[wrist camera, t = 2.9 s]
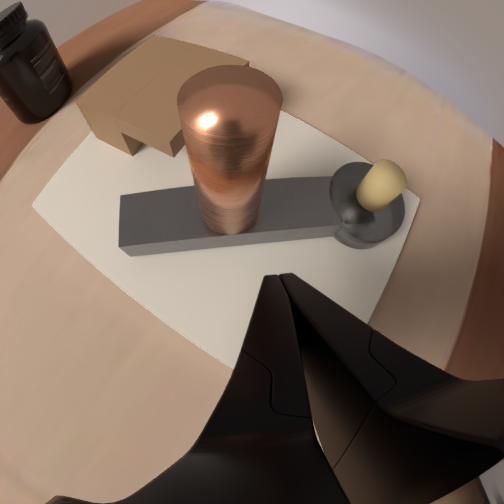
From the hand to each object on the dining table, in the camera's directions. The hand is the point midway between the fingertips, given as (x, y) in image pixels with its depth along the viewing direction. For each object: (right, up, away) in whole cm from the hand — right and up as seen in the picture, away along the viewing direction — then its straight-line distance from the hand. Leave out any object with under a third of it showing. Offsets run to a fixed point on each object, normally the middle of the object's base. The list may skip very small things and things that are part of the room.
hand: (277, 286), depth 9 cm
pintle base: (-3, +4, +10) cm, 11 cm away
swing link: (0, +3, +9) cm, 9 cm away
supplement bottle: (-21, +16, +12) cm, 30 cm away
